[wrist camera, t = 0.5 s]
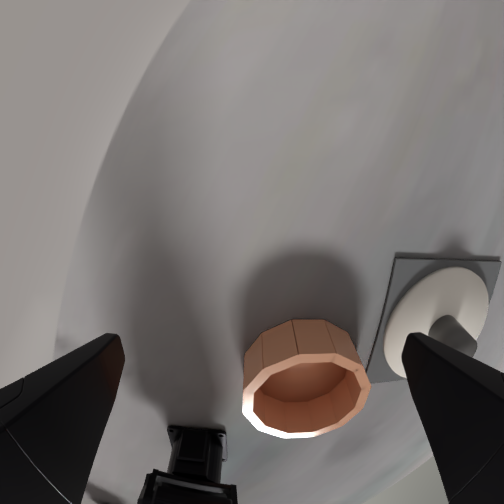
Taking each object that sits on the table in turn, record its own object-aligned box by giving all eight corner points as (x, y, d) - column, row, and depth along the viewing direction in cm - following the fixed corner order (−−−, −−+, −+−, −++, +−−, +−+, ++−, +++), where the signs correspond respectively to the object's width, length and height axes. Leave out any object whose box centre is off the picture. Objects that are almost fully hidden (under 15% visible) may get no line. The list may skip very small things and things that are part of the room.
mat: (461, 367, 27) (462, 369, 26) (362, 382, 27) (362, 384, 26) (499, 260, 22) (501, 262, 22) (394, 257, 22) (396, 259, 22)
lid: (460, 366, 26) (480, 393, 22) (368, 379, 26) (383, 415, 22) (497, 266, 22) (527, 287, 18) (400, 264, 22) (428, 291, 18)
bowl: (342, 400, 27) (352, 433, 23) (243, 402, 27) (241, 437, 23) (365, 318, 24) (383, 350, 20) (245, 318, 24) (244, 353, 20)
